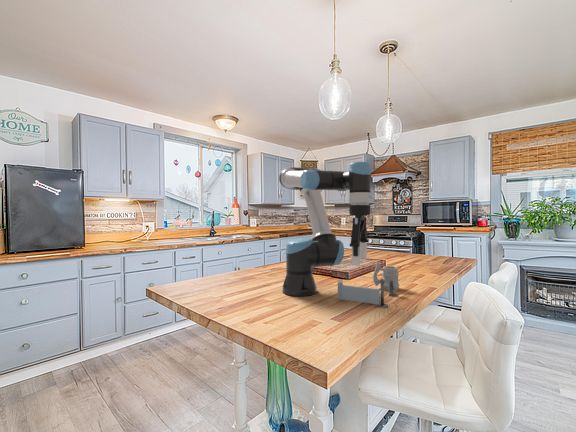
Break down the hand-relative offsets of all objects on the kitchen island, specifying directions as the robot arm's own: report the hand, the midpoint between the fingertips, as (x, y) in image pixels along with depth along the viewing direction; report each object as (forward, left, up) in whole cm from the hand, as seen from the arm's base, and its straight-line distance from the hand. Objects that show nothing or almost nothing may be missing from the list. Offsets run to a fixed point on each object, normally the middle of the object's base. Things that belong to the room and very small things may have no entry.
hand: (359, 262), depth 102 cm
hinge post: (+7, +6, -17) cm, 19 cm away
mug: (+5, +32, -17) cm, 36 cm away
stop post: (+9, +22, -17) cm, 29 cm away
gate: (-2, +6, -16) cm, 17 cm away
